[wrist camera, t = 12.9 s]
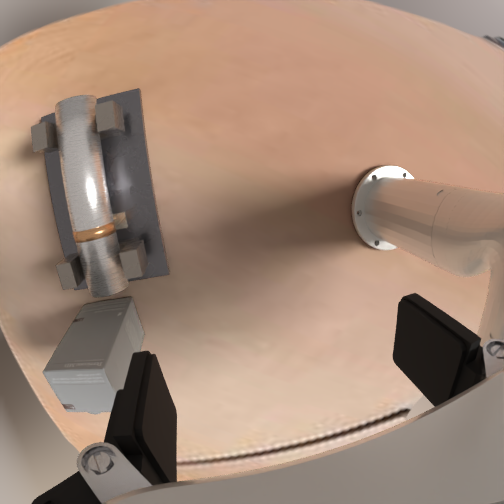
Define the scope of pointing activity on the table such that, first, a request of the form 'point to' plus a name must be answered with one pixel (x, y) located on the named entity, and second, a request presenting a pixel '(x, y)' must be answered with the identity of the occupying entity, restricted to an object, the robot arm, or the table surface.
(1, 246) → the table surface
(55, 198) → the plate with corner blocks
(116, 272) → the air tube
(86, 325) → the skincare box
